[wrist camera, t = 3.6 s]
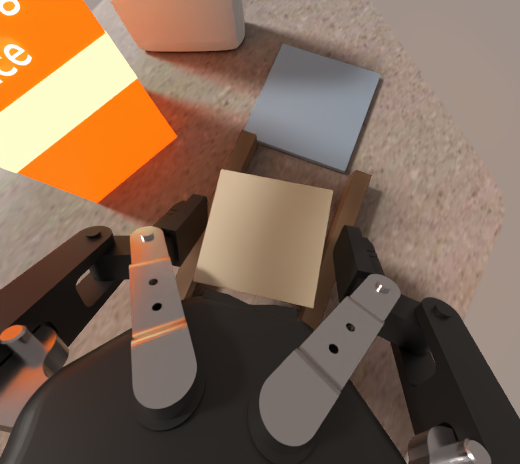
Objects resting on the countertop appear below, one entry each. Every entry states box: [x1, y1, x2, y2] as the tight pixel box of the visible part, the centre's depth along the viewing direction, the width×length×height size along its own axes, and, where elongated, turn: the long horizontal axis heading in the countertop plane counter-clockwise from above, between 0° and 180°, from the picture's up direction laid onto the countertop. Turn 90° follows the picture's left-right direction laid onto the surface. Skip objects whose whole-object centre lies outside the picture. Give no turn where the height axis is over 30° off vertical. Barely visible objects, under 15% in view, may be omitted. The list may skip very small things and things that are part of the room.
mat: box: [244, 44, 381, 173], centre depth 19 cm, size 9×10×1 cm
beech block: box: [193, 169, 333, 308], centre depth 13 cm, size 4×4×9 cm
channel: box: [175, 130, 372, 330], centre depth 16 cm, size 10×17×2 cm, turn 158°
